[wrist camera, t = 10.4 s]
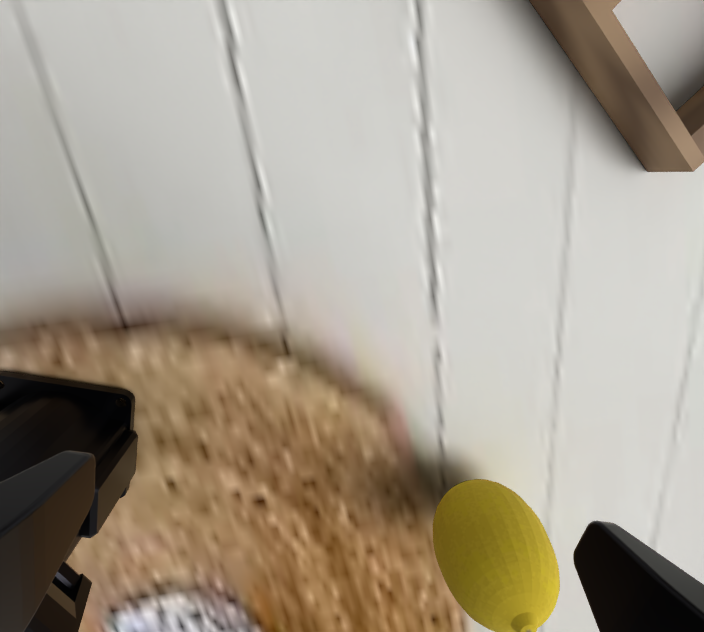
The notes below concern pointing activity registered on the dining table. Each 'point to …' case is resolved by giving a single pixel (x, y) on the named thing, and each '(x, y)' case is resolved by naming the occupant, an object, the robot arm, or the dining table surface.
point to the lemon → (495, 556)
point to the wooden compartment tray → (627, 85)
